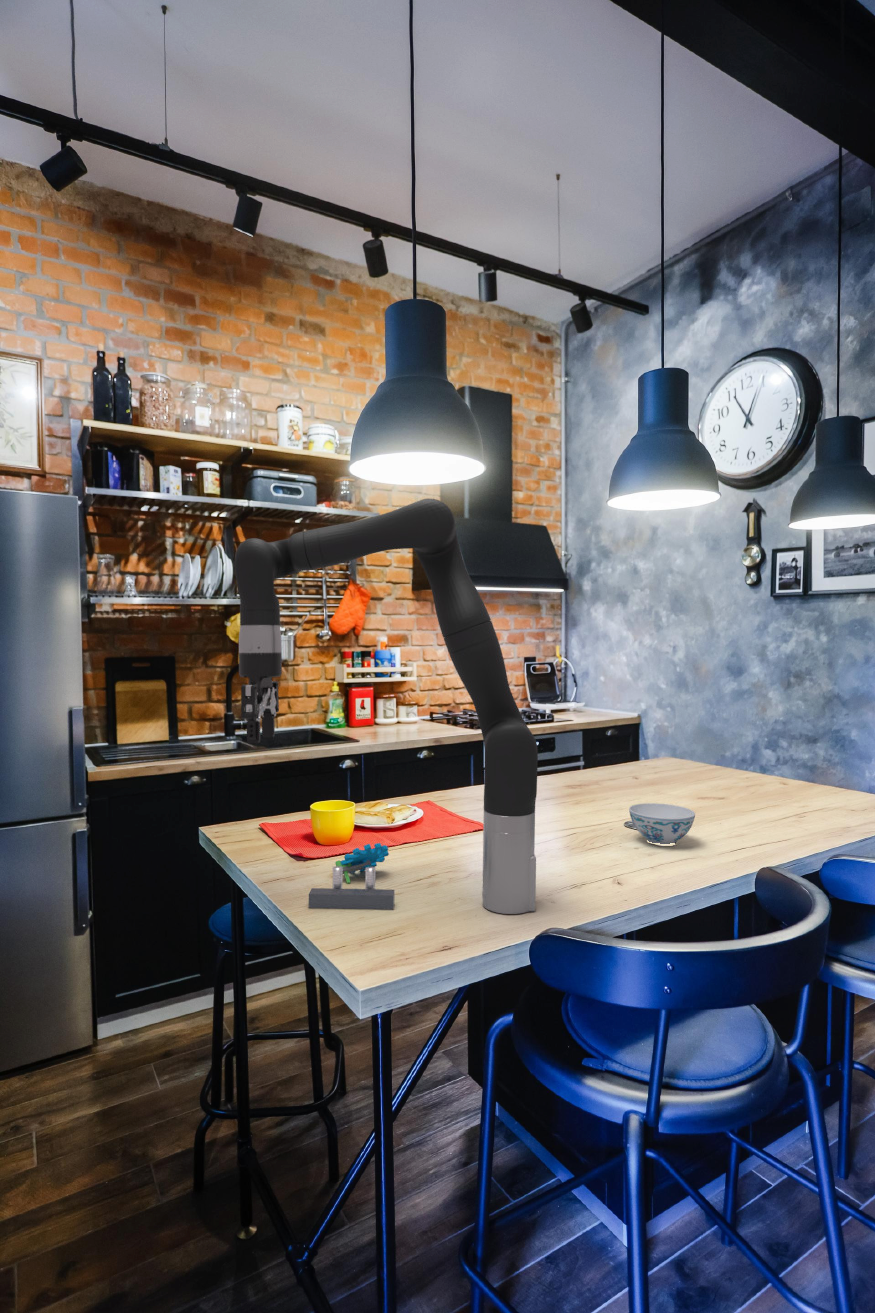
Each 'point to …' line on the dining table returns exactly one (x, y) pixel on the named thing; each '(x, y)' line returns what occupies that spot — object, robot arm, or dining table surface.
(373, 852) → the blue bumpy piece
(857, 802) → the dining table surface
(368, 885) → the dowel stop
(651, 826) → the chinaware
